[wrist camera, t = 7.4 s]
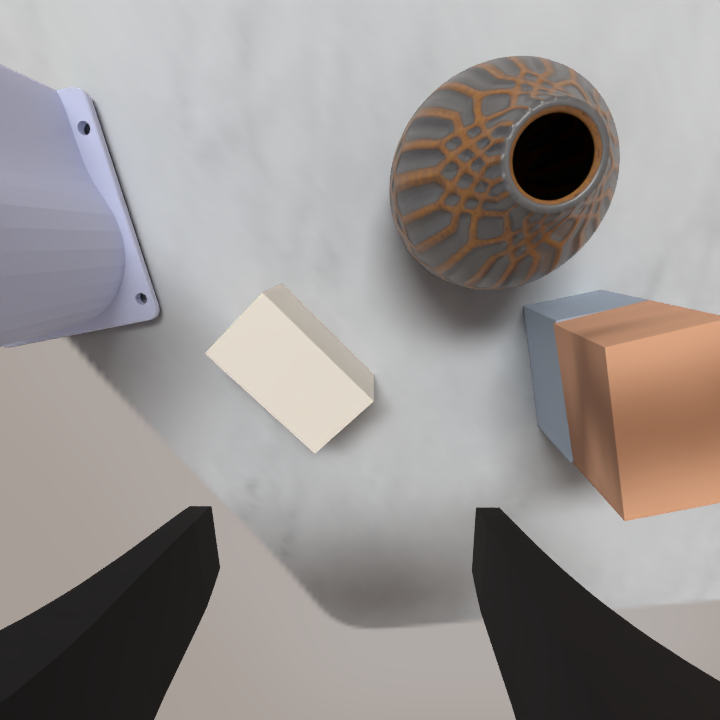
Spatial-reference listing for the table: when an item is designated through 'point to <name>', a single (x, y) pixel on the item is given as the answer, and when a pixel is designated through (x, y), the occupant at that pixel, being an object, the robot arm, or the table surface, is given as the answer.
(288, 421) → the cream brick
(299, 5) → the table surface
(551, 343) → the slate brick
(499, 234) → the vase
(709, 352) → the terracotta brick
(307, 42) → the table surface
